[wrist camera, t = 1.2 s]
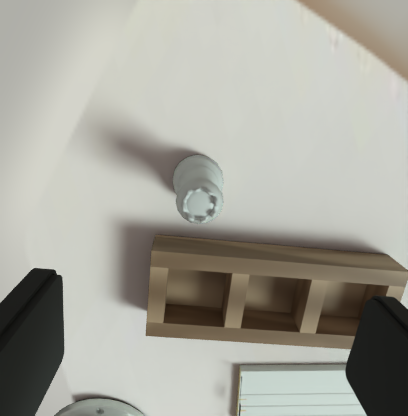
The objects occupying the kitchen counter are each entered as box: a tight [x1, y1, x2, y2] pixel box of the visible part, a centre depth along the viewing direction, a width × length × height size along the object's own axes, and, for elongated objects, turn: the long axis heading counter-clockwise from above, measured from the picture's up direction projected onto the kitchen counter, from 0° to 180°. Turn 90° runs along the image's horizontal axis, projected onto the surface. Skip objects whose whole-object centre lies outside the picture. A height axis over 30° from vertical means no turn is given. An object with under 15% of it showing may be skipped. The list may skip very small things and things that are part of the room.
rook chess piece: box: [173, 155, 223, 224], centre depth 25 cm, size 4×4×8 cm
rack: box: [146, 235, 408, 349], centre depth 31 cm, size 9×23×4 cm, turn 84°
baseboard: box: [236, 364, 367, 416], centre depth 37 cm, size 30×3×10 cm
